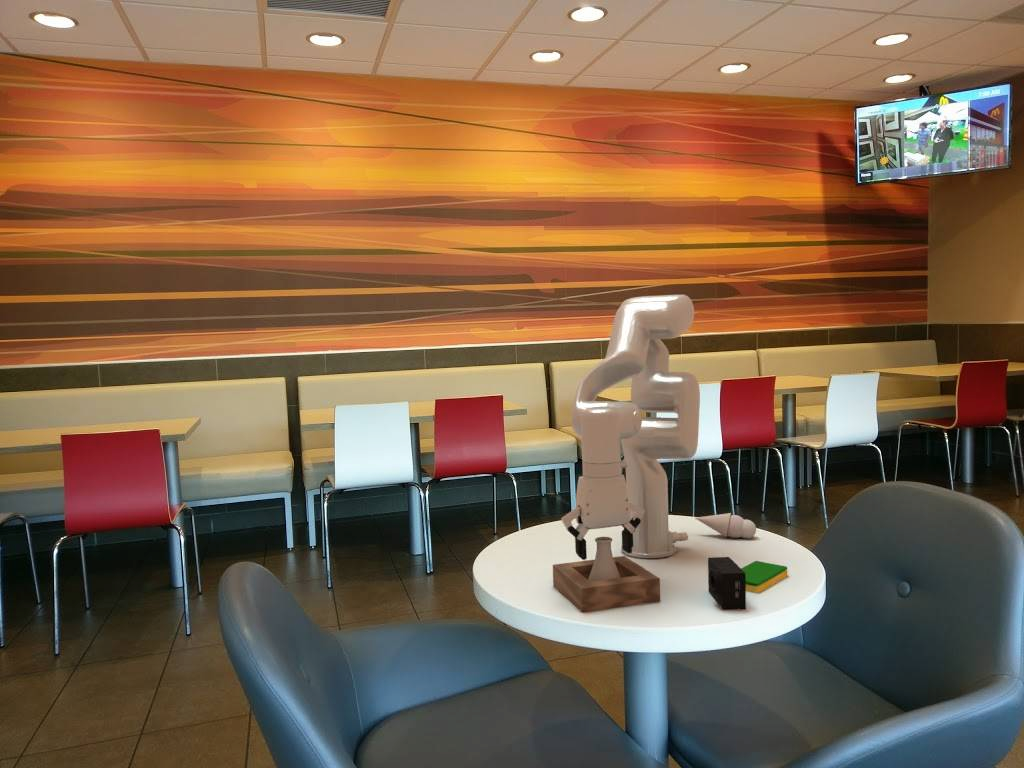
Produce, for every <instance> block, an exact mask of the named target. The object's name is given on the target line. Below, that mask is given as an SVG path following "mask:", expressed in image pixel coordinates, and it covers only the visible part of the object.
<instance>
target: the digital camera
mask: <svg viewBox="0 0 1024 768" xmlns="http://www.w3.org/2000/svg"><path fill="white" fill-rule="evenodd" d="M741 568H742V567H740V566H739V565H738V564H737V563H736V562H735V561H734V560H733V559H732V558H731V557H730V556H719V557H718V556H715V557H713V556H711V557H708V558H707V574H708V575H707V576H708V578H707V580H708V583H707V584H708V592H709V594H710V595H711V597H712V598H713V599H714V600H715V601H716V603H717V604H718V605H719V607H720V608H721V609H722V610H723V611H732V610H733V611H737V610H738V611H739V610H746V609H747V597H746V594H747V591H746V577H745V572H744V571H743V570H742V569H741Z"/></svg>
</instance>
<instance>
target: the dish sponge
mask: <svg viewBox="0 0 1024 768" xmlns="http://www.w3.org/2000/svg"><path fill="white" fill-rule="evenodd" d="M740 568H741V569H742V570H743V571H744V572H745V577H746V592H749V593H754V594H761V592H763V591H764V590H766V589H768V588H770V587H772V586H773V585H775V584H777V583H778V582H780V581H782V580H783V578H784V577H785V578H787V577H788V567H787V566H786V565H780V564H775V563H770V562H764V561H759V560H754V561H753V562H751V563H749V564H747V565H745V566H742V567H740ZM786 576H787V577H786ZM785 578H784V579H785ZM781 579H782V580H781ZM779 580H780V581H779ZM776 582H777V583H776Z"/></svg>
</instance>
